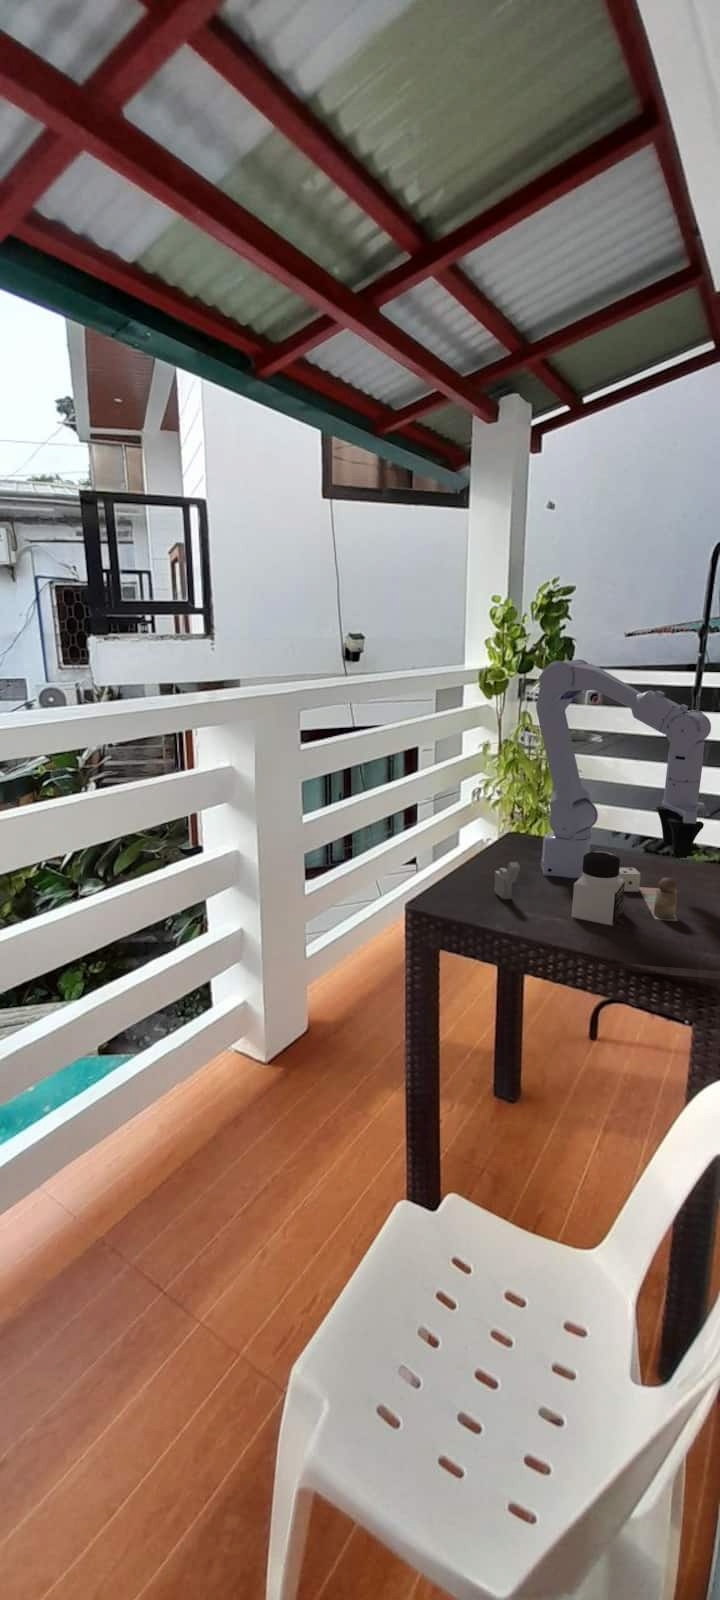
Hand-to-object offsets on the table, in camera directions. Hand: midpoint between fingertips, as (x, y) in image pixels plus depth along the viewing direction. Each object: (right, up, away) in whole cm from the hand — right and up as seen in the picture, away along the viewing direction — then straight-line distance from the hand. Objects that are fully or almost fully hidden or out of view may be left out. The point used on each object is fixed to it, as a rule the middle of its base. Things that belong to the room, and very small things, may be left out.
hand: (675, 850), depth 129 cm
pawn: (-5, -11, -7) cm, 14 cm away
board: (-6, -10, 0) cm, 12 cm away
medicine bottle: (-16, -12, -6) cm, 21 cm away
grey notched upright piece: (-31, -10, +4) cm, 32 cm away
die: (-7, -8, +7) cm, 12 cm away
